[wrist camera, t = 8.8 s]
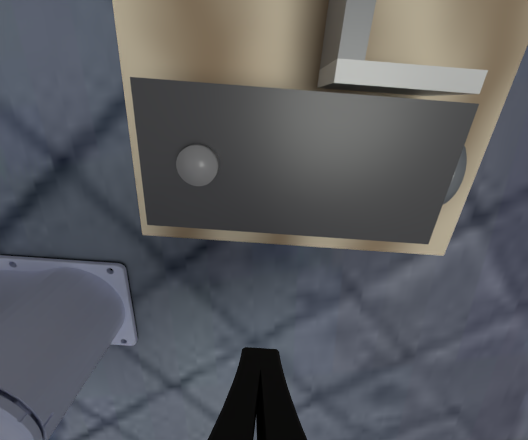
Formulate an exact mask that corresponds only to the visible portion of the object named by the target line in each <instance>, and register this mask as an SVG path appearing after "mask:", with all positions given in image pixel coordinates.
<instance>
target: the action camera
mask: <svg viewBox="0 0 528 440" xmlns="http://www.w3.org/2000/svg"><path fill="white" fill-rule="evenodd" d="M130 83H131V92H132V100H133V109H134V117H135V126H136V134H137V143H138V151H139V160H140V168H141V177H142V185H143V193H144V202H145V210H146V219H147V225H155V226H169V227H184V228H198V229H213V230H227V231H241V232H256V233H270V234H285V235H299V236H314V237H328V238H343V239H357V240H372V241H386V242H400V243H415V244H429V241H430V238H431V236H432V233H433V230H434V227H435V225H436V222H437V219H438V216H439V214H440V211H441V208H442V205H443V204H445V203H447V202H448V201H449V200H450V199H451V198H452V197H453V196H454V195H455V194H456V192H457V191H458V189H459V187H460V185H461V183H462V181H463V178H464V175H465V171H466V164H467V154H466V148H465V142H466V139H467V136H468V134H469V131H470V128H471V125H472V123H473V120H474V117H475V114H476V112H477V109H478V106H479V104H476V103H463V102H450V101H437V100H424V99H411V98H398V97H385V96H372V95H359V94H346V93H333V92H320V91H307V90H294V89H281V88H268V87H255V86H242V85H229V84H216V83H203V82H190V81H177V80H164V79H151V78H138V77H130Z"/></svg>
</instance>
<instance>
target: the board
mask: <svg viewBox="0 0 528 440" xmlns="http://www.w3.org/2000/svg"><path fill="white" fill-rule="evenodd" d="M112 2H113V10H114V17H115V25H116V33H117V41H118V49H119V56H120V64H121V72H122V80H123V88H124V95H125V103H126V111H127V119H128V127H129V134H130V142H131V150H132V158H133V166H134V173H135V181H136V189H137V197H138V205H139V212H140V220H141V228H142V235H150V236H165V237H180V238H194V239H209V240H223V241H238V242H252V243H267V244H282V245H296V246H311V247H325V248H340V249H354V250H369V251H384V252H398V253H413V254H427V255H442V256H444V254H445V251H446V249H447V246H448V244H449V241H450V239H451V236H452V234H453V231H454V229H455V226H456V224H457V221H458V219H459V216H460V213H461V211H462V208H463V206H464V203H465V201H466V198H467V196H468V193H469V191H470V188H471V186H472V183H473V181H474V178H475V176H476V173H477V171H478V168H479V166H480V163H481V161H482V158H483V156H484V153H485V150H486V148H487V145H488V143H489V140H490V138H491V135H492V133H493V130H494V128H495V125H496V123H497V120H498V118H499V115H500V113H501V110H502V108H503V105H504V103H505V100H506V98H507V95H508V93H509V90H510V87H511V85H512V82H513V80H514V77H515V75H516V72H517V70H518V67H519V65H520V62H521V60H522V57H523V55H524V52H525V50H526V47H527V45H528V0H376V4H375V9H374V15H373V20H372V25H371V30H370V35H369V41H368V46H367V51H366V56H365V61H377V62H390V63H403V64H416V65H428V66H441V67H454V68H466V69H479V70H488V72H487V75H486V77H485V80H484V83H483V86H482V89H481V91H480V94H469V95H444V96H416V95H403V94H390V93H377V92H364V91H351V90H338V89H325V88H317V85H318V78H319V70H320V63H321V55H322V48H323V40H324V33H325V26H326V18H327V11H328V3H329V0H112ZM130 77H138V78H151V79H164V80H177V81H190V82H203V83H216V84H229V85H242V86H255V87H268V88H281V89H294V90H307V91H320V92H333V93H346V94H359V95H372V96H385V97H398V98H411V99H424V100H437V101H450V102H463V103H476V104H479V106H478V109H477V112H476V114H475V117H474V120H473V123H472V125H471V128H470V131H469V134H468V136H467V139H466V142H465V148H466V154H467V164H466V171H465V175H464V178H463V181H462V183H461V185H460V187H459V189H458V191H457V192H456V194H455V195H454V196H453V197H452V198H451V199H450V200H449V201H448V202H447V203H445V204H443V205H442V208H441V211H440V214H439V216H438V219H437V222H436V225H435V227H434V230H433V233H432V236H431V238H430V241H429V244H415V243H400V242H386V241H372V240H357V239H343V238H328V237H314V236H299V235H285V234H270V233H256V232H241V231H227V230H213V229H198V228H184V227H169V226H155V225H147V219H146V210H145V202H144V193H143V185H142V177H141V168H140V160H139V151H138V143H137V134H136V126H135V117H134V109H133V100H132V92H131V83H130Z"/></svg>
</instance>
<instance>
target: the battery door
mask: <svg viewBox="0 0 528 440" xmlns="http://www.w3.org/2000/svg"><path fill="white" fill-rule="evenodd" d="M375 4H376V0H329V3H328V11H327V18H326V26H325V33H324V40H323V48H322V55H321V63H320V70H319V78H318V85H317V88H325V89H338V90H351V91H364V92H377V93H390V94H403V95H416V96H444V95H469V94H480V91H481V89H482V86H483V83H484V80H485V77H486V75H487V72H488V70H479V69H466V68H454V67H441V66H428V65H416V64H403V63H390V62H377V61H365V56H366V51H367V46H368V41H369V35H370V30H371V25H372V20H373V15H374V9H375Z"/></svg>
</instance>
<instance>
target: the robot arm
mask: <svg viewBox="0 0 528 440" xmlns="http://www.w3.org/2000/svg"><path fill="white" fill-rule="evenodd" d="M110 268H111V269H113V271H112V270H110ZM137 340H138V338H137V332H136V326H135V319H134V313H133V307H132V301H131V295H130V289H129V283H128V277H127V271H126V268H125V266H124V265H122V264H120V263H108V262H93V261H79V260H64V259H49V258H34V257H19V256H4V255H0V440H48V439H49V437H50V436H51V434H52V433H53V431H54V430H55V428H56V426H57V425H58V423H59V422H60V420H61V419H62V417H63V416H64V414H65V413H66V411H67V410H68V408H69V407H70V405H71V404H72V402H73V401H74V399H75V397H76V396H77V394H78V393H79V391H80V390H81V388H82V387H83V385H84V384H85V382H86V381H87V379H88V378H89V376H90V375H91V373H92V371H93V370H94V368H95V367H96V365H97V364H98V362H99V361H100V359H101V358H102V356H103V355H104V353H105V352H106V350H107V349H108V347H109V346H110V344H112V345H128V346H132V345H135V344H136V342H137ZM255 420H256V422H257V440H307V438H306V436H305V433H304V431H303V428H302V426H301V423H300V421H299V418H298V416H297V413H296V410H295V407H294V404H293V402H292V399H291V396H290V393H289V390H288V387H287V383H286V380H285V377H284V373H283V369H282V365H281V360H280V355H279V351H278V350H277V349H264V348H248V347H245V348H243V349H242V353H241V358H240V362H239V366H238V369H237V372H236V375H235V378H234V381H233V383H232V386H231V388H230V391H229V393H228V396H227V398H226V401H225V403H224V406H223V408H222V410H221V412H220V415H219V417H218V419H217V421H216V423H215V425H214V427H213V430H212V432H211V434H210V436H209V438H208V440H253V437H254V429H255Z"/></svg>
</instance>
